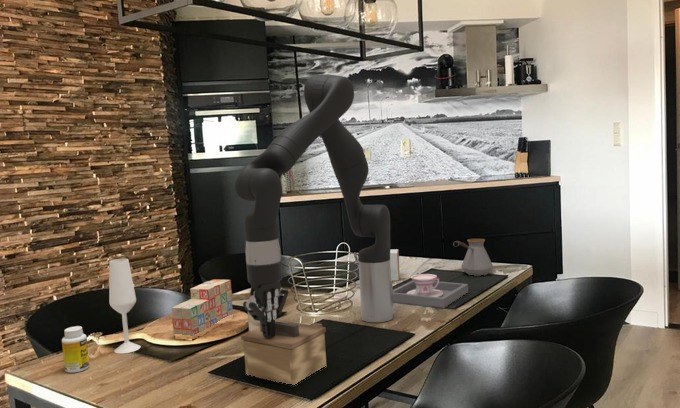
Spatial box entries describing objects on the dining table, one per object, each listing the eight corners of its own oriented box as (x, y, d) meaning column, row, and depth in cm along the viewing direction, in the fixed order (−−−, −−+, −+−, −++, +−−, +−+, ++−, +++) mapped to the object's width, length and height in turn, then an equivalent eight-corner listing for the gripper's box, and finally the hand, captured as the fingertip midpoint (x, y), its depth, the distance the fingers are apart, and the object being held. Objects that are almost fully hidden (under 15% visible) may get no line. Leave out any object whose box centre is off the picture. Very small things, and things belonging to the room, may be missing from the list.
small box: (398, 281, 213) (397, 252, 212) (383, 281, 214) (382, 253, 213) (400, 276, 221) (398, 248, 220) (385, 276, 222) (384, 249, 221)
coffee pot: (470, 269, 225) (469, 231, 224) (498, 272, 218) (497, 232, 216) (442, 281, 209) (441, 240, 207) (471, 284, 201) (470, 242, 200)
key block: (261, 341, 155) (258, 297, 154) (274, 343, 152) (271, 298, 151) (250, 346, 151) (246, 301, 150) (263, 349, 149) (259, 303, 147)
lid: (281, 321, 143) (280, 308, 143) (330, 329, 135) (329, 315, 134) (241, 339, 131) (240, 325, 131) (291, 349, 123) (290, 333, 123)
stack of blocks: (192, 341, 158) (189, 297, 157) (173, 340, 160) (169, 296, 159) (234, 318, 178) (230, 279, 177) (216, 317, 180) (213, 278, 179)
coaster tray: (415, 287, 202) (414, 279, 201) (468, 293, 191) (467, 284, 190) (387, 302, 186) (387, 292, 185) (444, 308, 175) (443, 298, 174)
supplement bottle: (84, 372, 139) (80, 331, 138) (61, 374, 139) (56, 333, 138) (93, 364, 145) (89, 324, 144) (70, 365, 145) (66, 325, 144)
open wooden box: (279, 357, 142) (277, 325, 141) (326, 366, 134) (324, 333, 133) (246, 374, 132) (243, 340, 131) (294, 386, 124) (291, 349, 123)
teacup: (408, 300, 184) (407, 281, 183) (404, 291, 196) (403, 273, 195) (446, 298, 184) (445, 279, 183) (440, 289, 195) (439, 271, 195)
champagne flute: (145, 347, 155) (137, 259, 153) (122, 355, 150) (113, 264, 148) (132, 342, 160) (123, 257, 157) (109, 350, 154) (100, 261, 152)
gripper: (255, 267, 119) (262, 349, 121) (296, 255, 130) (301, 330, 132) (229, 265, 123) (236, 344, 125) (270, 253, 134) (275, 325, 136)
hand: (269, 336), depth 128 cm, fingers closed
